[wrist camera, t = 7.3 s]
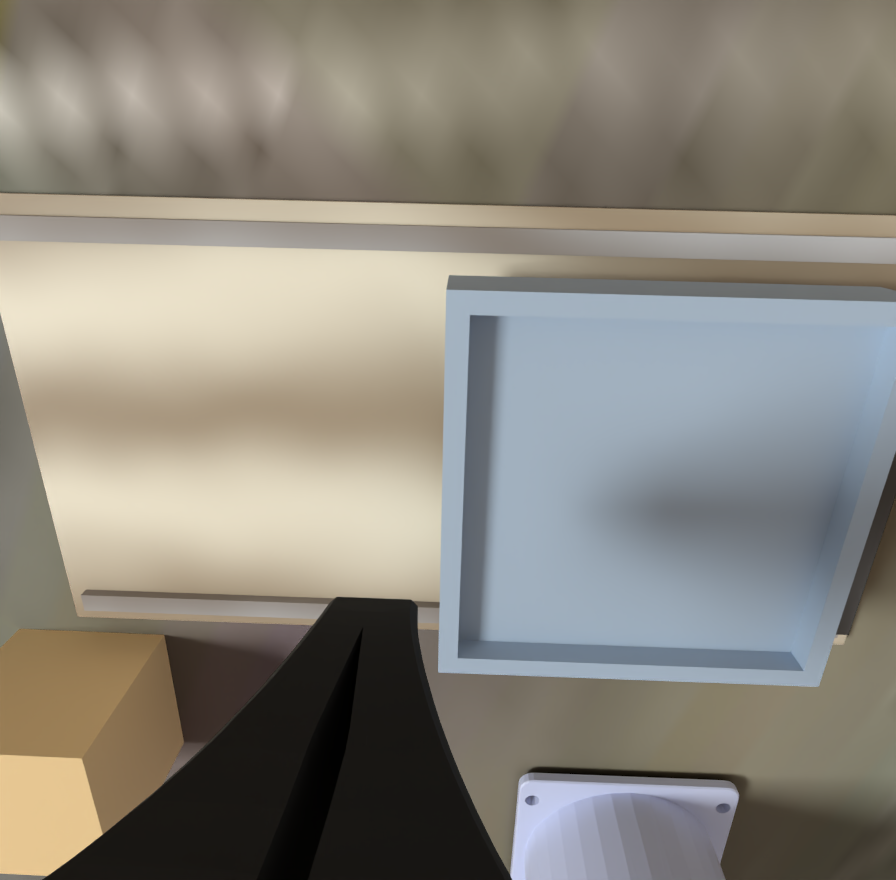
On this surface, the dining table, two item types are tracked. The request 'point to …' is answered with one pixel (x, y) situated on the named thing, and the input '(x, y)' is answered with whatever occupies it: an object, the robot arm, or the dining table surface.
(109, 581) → the track
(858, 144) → the dining table surface
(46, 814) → the ochre block
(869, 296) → the blue square tray
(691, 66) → the dining table surface
